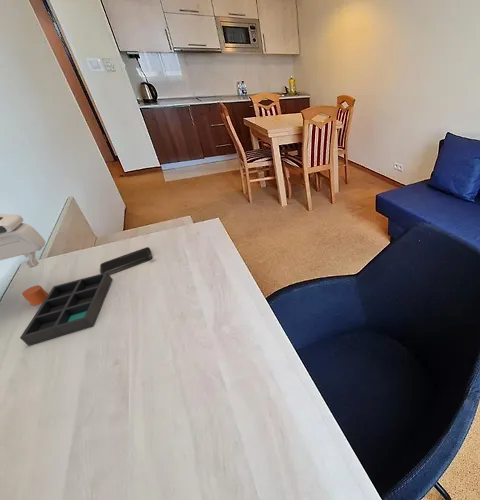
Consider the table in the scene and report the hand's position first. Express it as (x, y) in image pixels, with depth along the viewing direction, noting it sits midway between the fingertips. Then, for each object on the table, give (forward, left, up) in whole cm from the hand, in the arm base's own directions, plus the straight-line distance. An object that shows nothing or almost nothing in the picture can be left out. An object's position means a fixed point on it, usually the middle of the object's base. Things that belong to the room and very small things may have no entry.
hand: (15, 270), depth 85 cm
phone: (+22, +9, -11) cm, 26 cm away
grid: (+12, -10, -11) cm, 19 cm away
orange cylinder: (0, 0, -11) cm, 11 cm away
